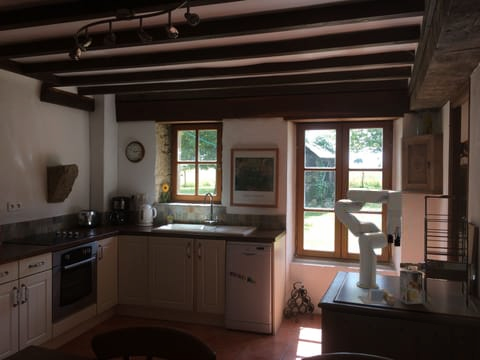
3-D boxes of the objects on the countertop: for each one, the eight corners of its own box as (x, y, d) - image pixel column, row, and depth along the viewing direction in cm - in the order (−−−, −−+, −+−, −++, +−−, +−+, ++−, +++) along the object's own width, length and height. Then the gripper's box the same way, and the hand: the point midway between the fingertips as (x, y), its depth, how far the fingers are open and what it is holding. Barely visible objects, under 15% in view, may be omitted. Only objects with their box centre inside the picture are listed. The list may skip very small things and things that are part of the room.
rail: (381, 296, 205) (381, 289, 204) (385, 296, 204) (385, 289, 204) (389, 304, 193) (389, 296, 192) (393, 304, 192) (393, 296, 192)
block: (379, 298, 201) (368, 298, 201) (380, 289, 200) (369, 288, 201) (382, 300, 197) (371, 300, 197) (382, 291, 196) (371, 291, 197)
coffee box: (414, 299, 201) (415, 269, 200) (422, 303, 194) (423, 272, 194) (399, 300, 199) (399, 270, 199) (406, 304, 193) (407, 273, 192)
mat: (357, 296, 204) (357, 295, 204) (380, 297, 204) (380, 296, 204) (363, 303, 193) (363, 302, 193) (387, 303, 193) (387, 303, 193)
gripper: (381, 211, 214) (381, 241, 214) (393, 215, 197) (392, 247, 197) (395, 212, 214) (394, 242, 214) (408, 215, 196) (407, 248, 197)
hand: (393, 244), depth 205 cm, fingers open, 9 cm apart
